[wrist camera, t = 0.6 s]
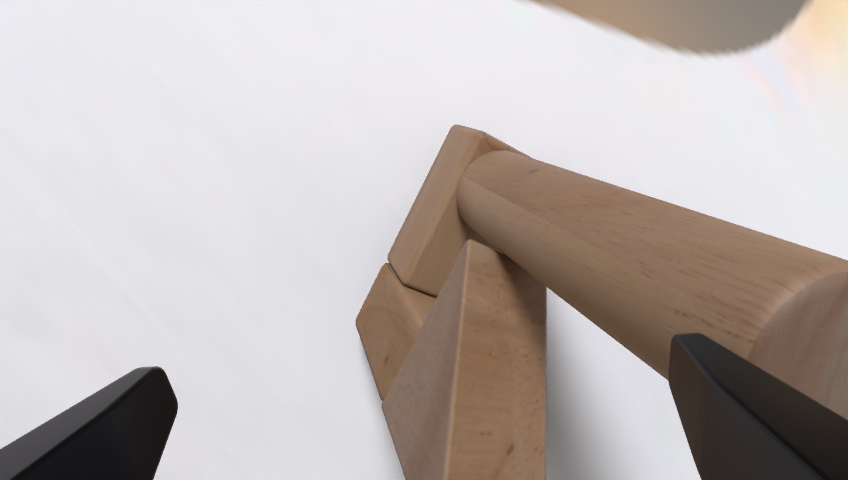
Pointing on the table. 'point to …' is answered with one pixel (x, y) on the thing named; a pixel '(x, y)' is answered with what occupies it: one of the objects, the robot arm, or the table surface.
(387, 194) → the table surface
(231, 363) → the table surface
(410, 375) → the wooden block
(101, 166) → the table surface
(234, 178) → the table surface
